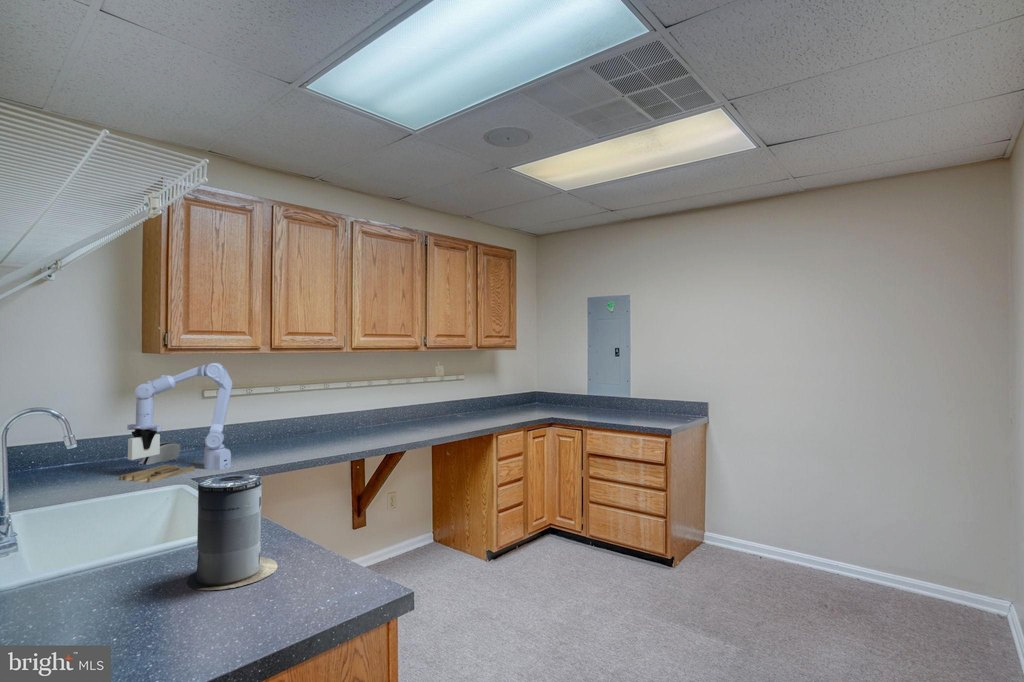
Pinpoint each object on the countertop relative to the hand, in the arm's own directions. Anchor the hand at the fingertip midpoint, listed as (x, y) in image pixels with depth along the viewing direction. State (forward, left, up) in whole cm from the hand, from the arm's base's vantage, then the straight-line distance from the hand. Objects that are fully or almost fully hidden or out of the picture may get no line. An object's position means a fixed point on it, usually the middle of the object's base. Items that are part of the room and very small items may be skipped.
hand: (144, 448), depth 206 cm
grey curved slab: (+15, -22, -11) cm, 28 cm away
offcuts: (-12, +1, -10) cm, 15 cm away
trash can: (-103, +69, -11) cm, 124 cm away
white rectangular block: (0, 0, -3) cm, 3 cm away
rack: (-8, +1, -11) cm, 13 cm away
